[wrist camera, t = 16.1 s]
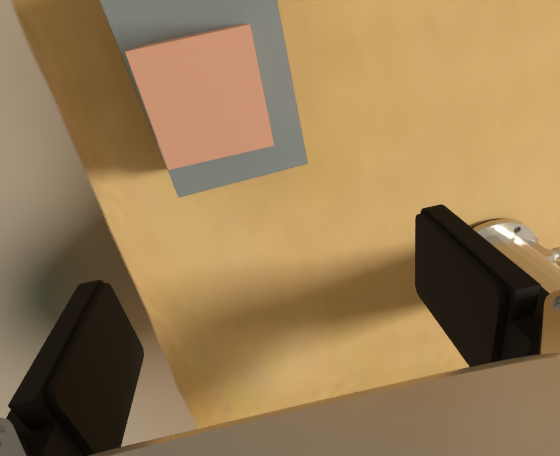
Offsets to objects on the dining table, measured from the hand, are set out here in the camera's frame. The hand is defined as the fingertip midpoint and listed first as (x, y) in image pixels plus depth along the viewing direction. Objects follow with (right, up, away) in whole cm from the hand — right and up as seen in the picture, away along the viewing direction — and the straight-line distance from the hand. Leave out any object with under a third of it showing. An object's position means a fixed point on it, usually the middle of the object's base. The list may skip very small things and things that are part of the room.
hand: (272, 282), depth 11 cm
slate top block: (-5, +13, +17) cm, 22 cm away
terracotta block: (-4, +11, +13) cm, 17 cm away
